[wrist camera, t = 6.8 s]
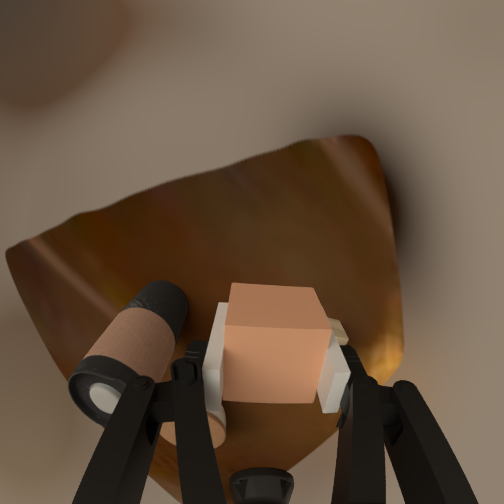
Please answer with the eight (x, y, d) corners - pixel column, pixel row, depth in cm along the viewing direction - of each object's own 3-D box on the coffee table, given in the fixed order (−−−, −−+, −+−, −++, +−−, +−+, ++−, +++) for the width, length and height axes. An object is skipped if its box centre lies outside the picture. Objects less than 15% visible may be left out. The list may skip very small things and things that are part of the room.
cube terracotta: (301, 352, 19) (313, 402, 14) (229, 349, 19) (222, 400, 14) (313, 287, 18) (332, 329, 13) (232, 282, 18) (224, 324, 13)
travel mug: (141, 324, 40) (80, 421, 20) (136, 275, 37) (55, 361, 18) (191, 330, 40) (152, 440, 20) (190, 280, 37) (136, 382, 18)
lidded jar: (183, 365, 42) (169, 407, 33) (241, 395, 43) (239, 438, 34) (157, 399, 44) (143, 438, 35) (209, 425, 46) (203, 465, 37)
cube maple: (324, 348, 40) (332, 368, 36) (294, 340, 40) (298, 361, 35) (339, 320, 39) (348, 339, 34) (307, 311, 39) (313, 330, 34)
